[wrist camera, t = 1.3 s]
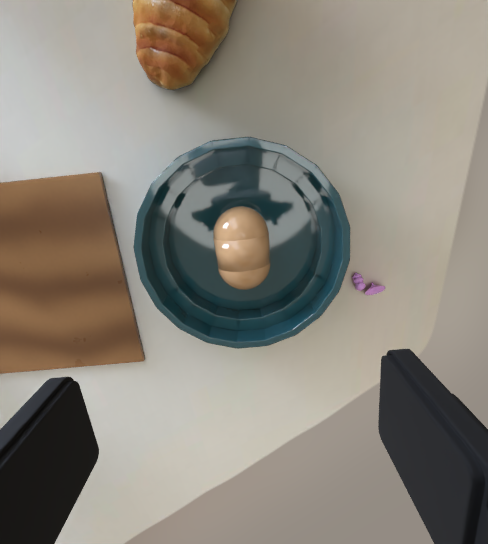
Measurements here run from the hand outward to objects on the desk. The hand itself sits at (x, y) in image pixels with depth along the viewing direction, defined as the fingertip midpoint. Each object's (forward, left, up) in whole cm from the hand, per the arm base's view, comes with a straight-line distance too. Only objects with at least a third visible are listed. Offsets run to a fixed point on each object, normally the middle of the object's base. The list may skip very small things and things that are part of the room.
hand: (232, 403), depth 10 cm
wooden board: (+1, -20, -19) cm, 27 cm away
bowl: (-1, 0, -19) cm, 19 cm away
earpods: (+4, +11, -19) cm, 23 cm away
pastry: (-18, -2, -19) cm, 26 cm away
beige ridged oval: (-1, 0, -19) cm, 19 cm away
